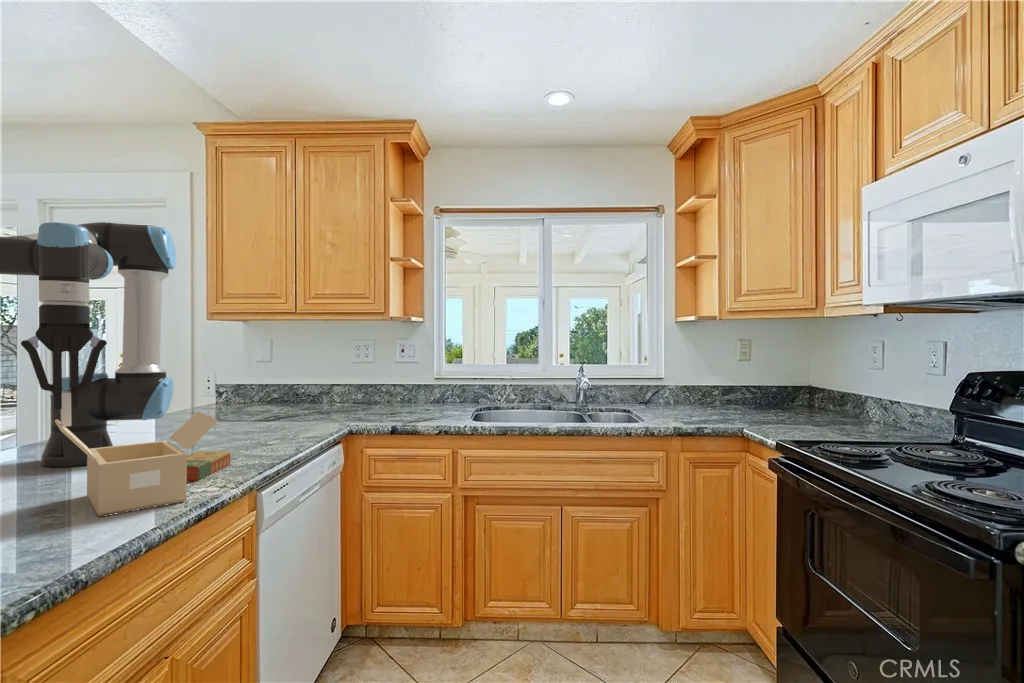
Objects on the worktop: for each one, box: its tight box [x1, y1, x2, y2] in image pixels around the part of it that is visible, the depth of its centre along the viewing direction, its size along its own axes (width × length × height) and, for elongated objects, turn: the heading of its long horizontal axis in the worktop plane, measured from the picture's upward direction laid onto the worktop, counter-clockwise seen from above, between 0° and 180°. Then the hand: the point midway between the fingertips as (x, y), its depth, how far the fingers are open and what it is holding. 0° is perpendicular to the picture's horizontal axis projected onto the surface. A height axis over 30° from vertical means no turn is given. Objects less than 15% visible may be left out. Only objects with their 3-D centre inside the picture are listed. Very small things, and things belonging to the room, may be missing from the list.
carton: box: [187, 450, 231, 482], centre depth 132 cm, size 8×16×4 cm, turn 4°
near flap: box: [54, 419, 97, 461], centre depth 103 cm, size 15×8×1 cm
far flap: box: [169, 411, 219, 451], centre depth 118 cm, size 15×8×1 cm
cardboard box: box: [86, 440, 188, 518], centre depth 110 cm, size 18×14×10 cm
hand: (66, 425), depth 102 cm, fingers closed
